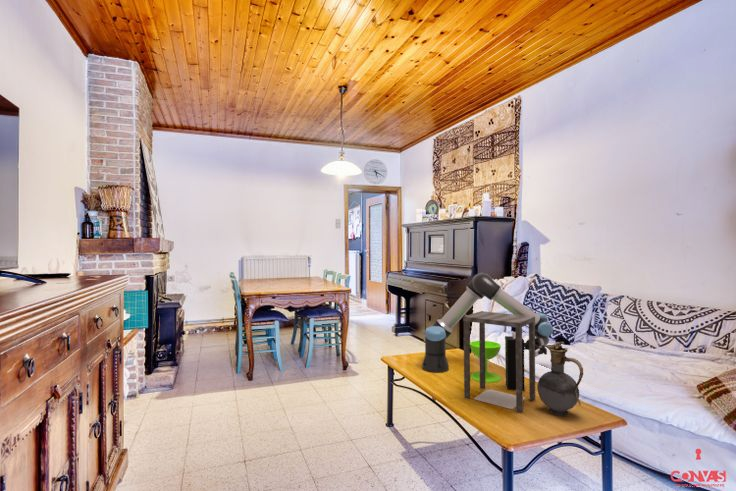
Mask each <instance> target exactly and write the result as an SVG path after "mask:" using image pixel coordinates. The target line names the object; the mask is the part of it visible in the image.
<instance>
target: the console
mask: <svg viewBox="0 0 736 491" xmlns="http://www.w3.org/2000/svg"><path fill="white" fill-rule="evenodd" d="M462 321H463V379H464V380H463V394H464V395H463V397H464V399H467V400H469V399H471V378H470V375H471V351H470V350H471V348H470V342H471V336H470V335H471V333H470V332H471V330H470V326H471V323H478V324H479V326H478V327H479V332H478V333H479V336H478V337H479V340H478V341H480V358H479V372H480V382H479V389H483V390H484V391H482V392H481V393H480V394H478V395H476V396H475V397H474V398H473V400H475V401H479V402H484V403H486V404H490V405H494V406H497V407H502V408H505V409H510V410H515V412H516V413H520V414H522V413H523V412H524V410H523V409H524V408H523V407H524V406H523V404H524V402H523V401H525V400H526V397H525V396H523V393H524V392H523V386H522V338H523V327H525V326H528V339H529V350H528V377H529V379H528V380H529V382H528V383H529V384H528V385H529V389H528V391H529V394H528V395H529V401H531V402H532V401H533V402H535V401H536V357H535V317H533V316H523V315H514V314H512V313H503V312H502V313H501V312H493V311H492V312H491V311H483V310H480V311H477V312H474V313H470V314H467V315H464V316H463V317H462ZM528 324H529V325H528ZM486 325H493V326H494V325H495V326H502V327H508V328H509V327H510V328H511V327H512V328H515V332H516V390H515V394H511V393H508V392H503V391H498V390H494V389H492V388H491V389H489V388H487V389H486V383H485V341H486ZM485 389H486V390H485ZM515 408H516V409H515Z"/></svg>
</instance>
